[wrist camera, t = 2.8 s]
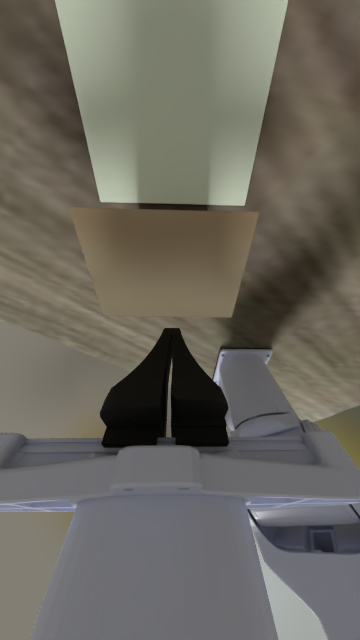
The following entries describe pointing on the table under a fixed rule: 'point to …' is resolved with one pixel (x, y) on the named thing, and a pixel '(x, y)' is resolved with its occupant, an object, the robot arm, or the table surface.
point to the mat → (172, 93)
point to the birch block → (165, 259)
